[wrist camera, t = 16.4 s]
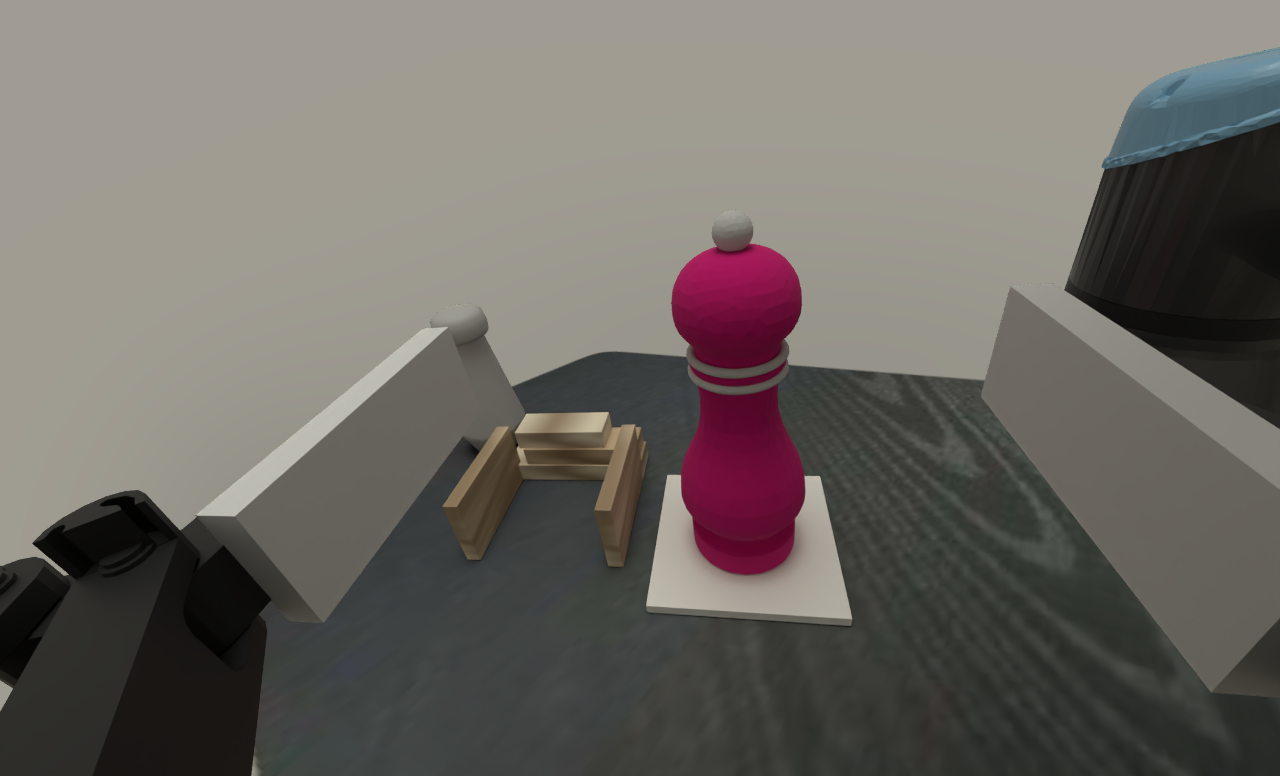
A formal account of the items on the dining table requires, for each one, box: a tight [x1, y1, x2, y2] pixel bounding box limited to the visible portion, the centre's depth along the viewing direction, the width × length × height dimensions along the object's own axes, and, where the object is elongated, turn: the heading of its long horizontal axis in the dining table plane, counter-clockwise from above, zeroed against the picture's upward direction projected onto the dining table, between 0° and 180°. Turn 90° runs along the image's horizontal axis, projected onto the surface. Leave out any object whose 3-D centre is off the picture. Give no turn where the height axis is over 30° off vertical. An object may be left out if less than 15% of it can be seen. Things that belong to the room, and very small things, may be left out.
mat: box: [646, 475, 852, 626], centre depth 31 cm, size 11×11×1 cm
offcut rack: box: [442, 412, 648, 567], centre depth 35 cm, size 11×11×5 cm
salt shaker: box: [430, 304, 525, 451], centre depth 41 cm, size 6×6×13 cm
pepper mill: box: [671, 210, 806, 575], centre depth 26 cm, size 7×7×20 cm
